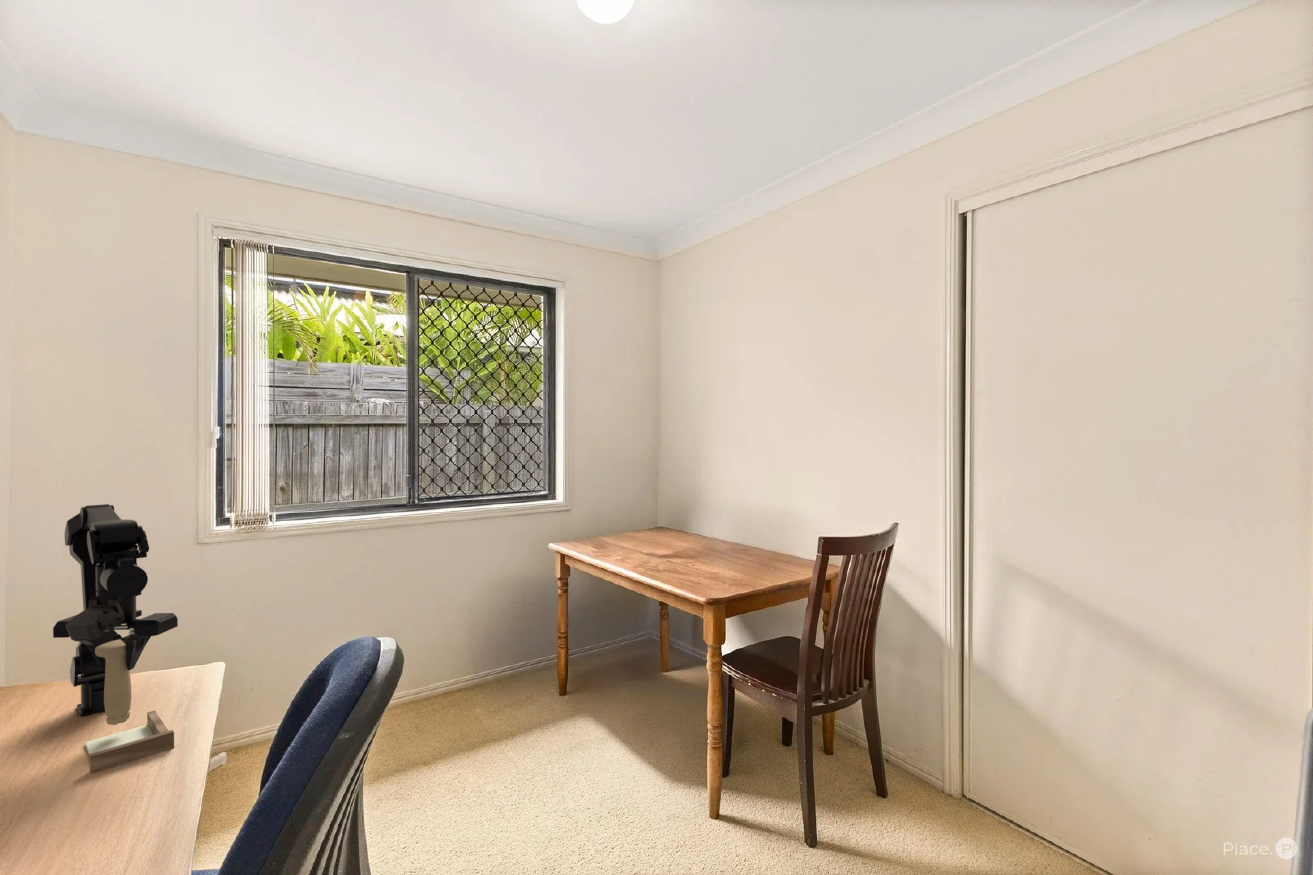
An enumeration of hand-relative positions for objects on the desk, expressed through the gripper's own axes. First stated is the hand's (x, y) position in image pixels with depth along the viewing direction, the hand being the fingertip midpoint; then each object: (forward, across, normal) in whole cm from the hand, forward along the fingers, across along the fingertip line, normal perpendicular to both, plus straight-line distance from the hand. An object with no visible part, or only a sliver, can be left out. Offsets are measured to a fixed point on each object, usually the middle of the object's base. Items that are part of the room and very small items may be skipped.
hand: (117, 669), depth 117 cm
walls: (+13, +4, -4) cm, 14 cm away
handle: (+10, 0, 0) cm, 10 cm away
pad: (+13, +4, -4) cm, 14 cm away
